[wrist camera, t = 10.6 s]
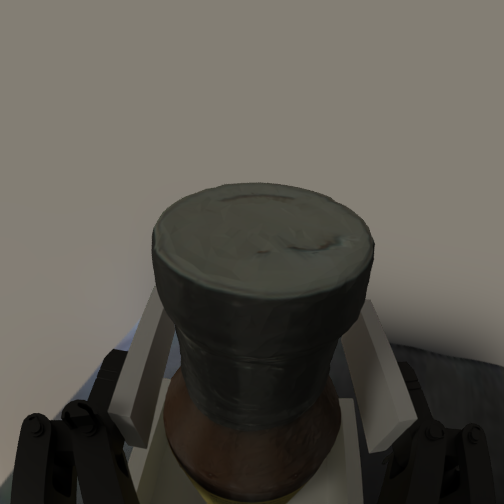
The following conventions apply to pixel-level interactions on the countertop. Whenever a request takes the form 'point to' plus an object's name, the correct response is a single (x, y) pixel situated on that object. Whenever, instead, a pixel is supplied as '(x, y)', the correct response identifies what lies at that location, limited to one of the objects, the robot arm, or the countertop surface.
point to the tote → (306, 500)
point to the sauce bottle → (257, 333)
